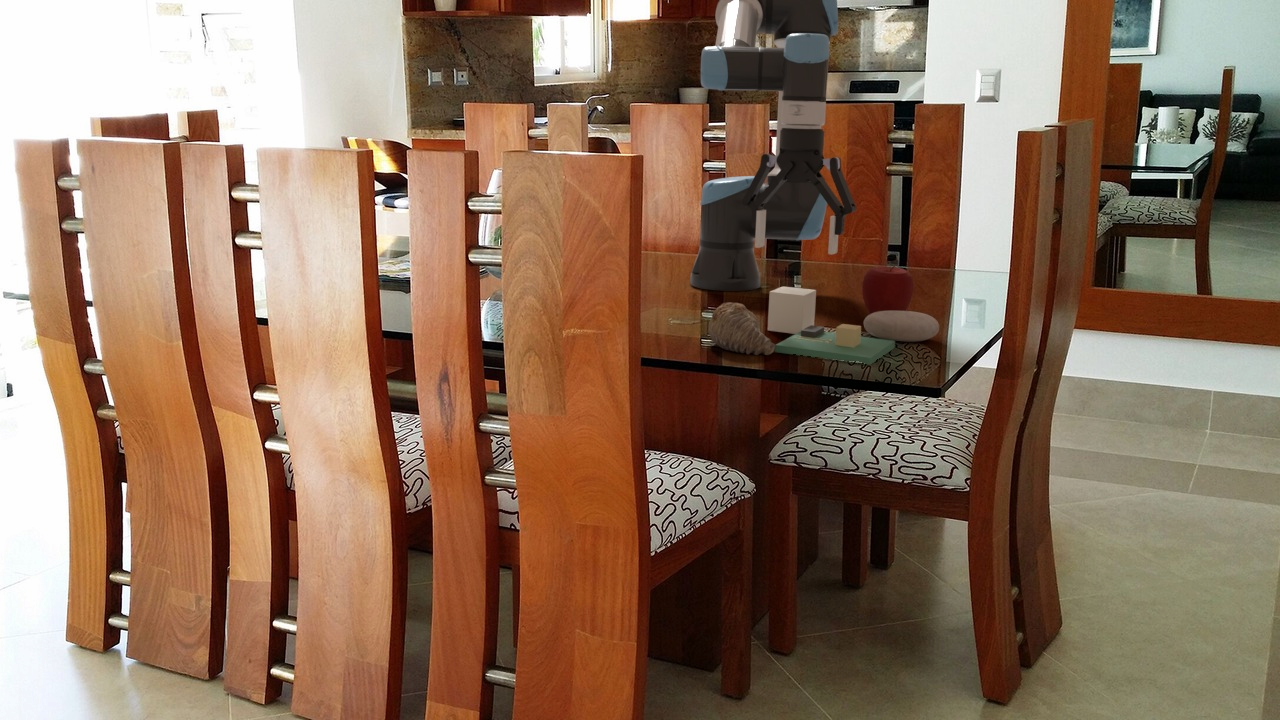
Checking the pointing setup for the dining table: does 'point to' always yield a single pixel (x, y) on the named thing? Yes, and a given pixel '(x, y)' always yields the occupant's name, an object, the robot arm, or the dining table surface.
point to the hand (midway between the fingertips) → (795, 250)
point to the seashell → (738, 330)
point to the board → (836, 344)
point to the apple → (887, 289)
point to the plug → (791, 309)
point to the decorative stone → (901, 325)
